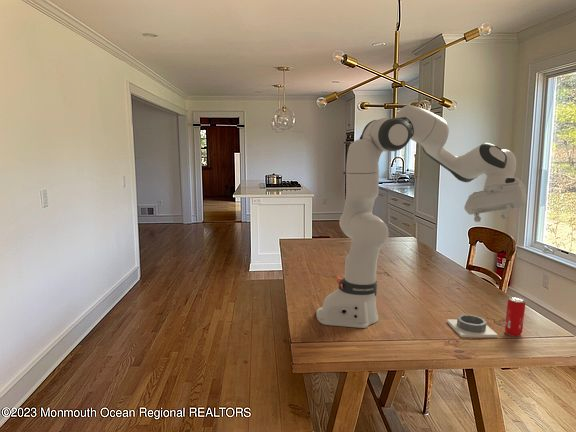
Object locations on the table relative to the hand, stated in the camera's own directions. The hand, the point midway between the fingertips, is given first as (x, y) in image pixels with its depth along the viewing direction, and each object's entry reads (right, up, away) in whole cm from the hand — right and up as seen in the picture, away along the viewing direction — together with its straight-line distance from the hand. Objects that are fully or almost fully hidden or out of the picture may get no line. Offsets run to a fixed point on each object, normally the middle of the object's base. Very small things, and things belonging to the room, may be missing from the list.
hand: (490, 219), depth 144 cm
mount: (-6, -38, +1) cm, 38 cm away
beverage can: (+7, -39, -2) cm, 39 cm away
